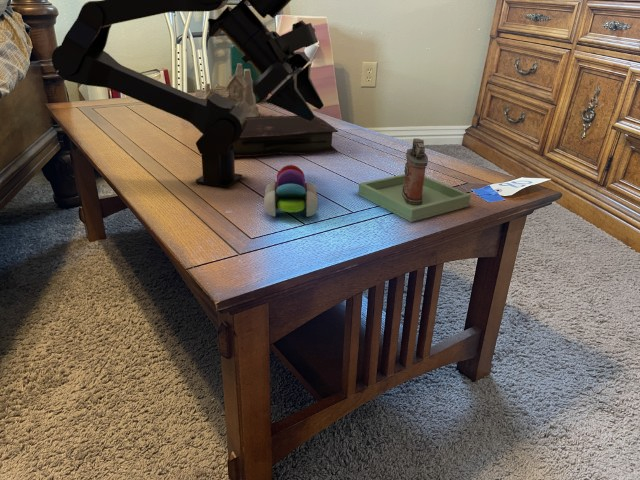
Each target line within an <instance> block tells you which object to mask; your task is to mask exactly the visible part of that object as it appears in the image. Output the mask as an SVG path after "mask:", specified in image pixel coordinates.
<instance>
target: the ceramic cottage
mask: <svg viewBox="0 0 640 480" xmlns="http://www.w3.org/2000/svg"><path fill="white" fill-rule="evenodd" d="M242 75H243V68H242V64H238V65H237V68H236V74H235V75H234V76H233V77H231V76H228V83H227V85H220V84H219V83H218V82H217V83H216V84H215V86H214V87H213V88H211V84H210V83H209V82H208V83H205V84H204V89H199V88H198V89H196V90H195V95H194V96H195V97H197V98H201V99H208V98H209V97H210V96H211V95H212V94H213V93H216V94H219V95H220V96H222V97H223V98H225V99H227V100H231V101H236V103H235V104H234V105H237V106H238V107H240V108H241V109H242V110H243V111H244V114H245V116H246V117H258V116H260V109H259V106H258V105H257V102H256V100H255V95H254V93H253V87H252V82H253V81H252V78H251V71H250V69H244V77H243V76H242Z"/></svg>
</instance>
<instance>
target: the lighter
mask: <svg viewBox="0 0 640 480" xmlns="http://www.w3.org/2000/svg"><path fill="white" fill-rule="evenodd" d="M425 151H426V147H425V141H424V139H420V138H413V139H412V147H411V148H408V149H406V153H405V154H406V155H405V159H406V162H405V163H404V170H403V171H404V174H405V179H404V185H403V188H402V197H403V199H404V201H405V202H406V203H407V204H409V205H412V206H419V205H422V200H423V194H422V191H423V183H424V176H426V168H427V167H428V162H429V158H428V157H429V156H428V155H427V153H425Z"/></svg>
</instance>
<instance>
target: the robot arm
mask: <svg viewBox="0 0 640 480" xmlns="http://www.w3.org/2000/svg"><path fill="white" fill-rule="evenodd" d="M290 2H292V0H240V1H239V2H238V3H237V4H236V5H235V6H234V7H233V8H232V7H231V6H228V5H227V4H228V3H229V0H89V1H87V2H84V4H83V5H82V6H81V9H80V10H79V13H78V14H77V18H76V19H75V20H74V22H73V23H72V25H71V26H70V28H69V30H67V32H66V34H65V35H64V37H63V40H62V42H61V44H60V45H57V47H56V48H55V49H54V50H53V52H52V54H51V63H52V67H53V69H54V70H55V73H56V75H57V76H58V77H59V78H61V79H63V80H64V81H66V82H71V83H75V84H79V85H83V86H89V87H96V88H106V89H110V90H112V91H115V92H117V93H120V94H122V95H124V96H127V97H130V98H132V99H134V100H136V101H138V102H141V103H144V104H146V105H148V106H150V107H153V108H155V109H158V110H161V111H163V112H165V113H167V114H169V115H173V116H174V117H177V118H178V119H179V118H180V119H183V120H184V121H187V123H189V124H191V125H192V126H193V127H195V129H197V131H199V133H201V136H200V137H199V138H197V140H196V142H195V146H196V148H197V150H198V152H199V155H201V170H202V171H201V172H202V175H201V176H199V177H198V178H196V179H195V183H196V184H200V185H206V186H213V187H219V188H226V189H227V188H229V187H231V186H232V185H234V184H235V183H237V182H238V181H239V180H241V179H242V178H243V174H241V173H236V168H235V167H236V166H235V165H236V164H235V156H234V145H233V143H235V142H236V141H237V140H238V139H239V137H240V136H241V134H242V132H243V130H244V129H245V127H246V122H247V121H246V116H245V114H244V111H243V110H242V109H241V108H240V107H238V106H237V105H234V104H235V103H236V101H231V100H227V99H225V98H223V97H222V96H220V95H219V94H216V93H213V94H212V95H211V96H210V97H209V98H208V99H201V98H197V97H195V95H193V94H190V93H188V92H185V91H183V90H180V89H178V88H176V87H174V86H172V85H170V84H166V83H164V82H162V81H160V80H157V79H155V78H153V77H150V76H148V75H145V74H143V73H141V72H138V71H136V70H134V69H131V68H129V67H128V66H127V67H126V66H124V65H122V64H120V63H119V62H118V61H117V60H116V59H115V58H114V57H113V56H111V55H110V54H109V53H108V52H106V51H105V48H106V46H107V43H108V39H109V35H110V30H111V28H112V25H115V24H121V23H125V22H129V21H134V20H138V19H144V18H149V17H153V16H158V15H163V14H168V13H173V12H174V13H175V12H184V13H185V12H187V13H189V12H190V13H191V12H192V13H193V12H213V11H217V10H220V9H223V8H224V7H226V8H224V10H222V12H221V13H220V14H219V15H218V16H217V17H216V18H208V19H207V22H208V31H207V33H208V36H209V37H212V38H214V37H215V38H217V37H219V35H221V33H223V34H224V35H225V37H226V38H227V39H228V40H229V41H230V42H231V44H232V43H233V44H234V45H235V46H236V47H237V49H238V50H239V51H240V52H241V53H242V54H243V55H244V56H243V57H242V60H243V61H244V62H245V63H248V62H250V63H251V64H252V65H253V67H254V68H255V69H256V70H257V71H258V72H259V73H260V74H261V76H260V77H259V78H258V79H257V80H256V81H255V82H254V83H253V93H254V94H255V95H256V96H257V97H258V99H259V100H260V101H259V102H263V101H264V100H266V101H265V103H266V104H271V105H272V106H275V107H278V108H280V109H283V110H284V111H287V112H289V113H291V114H292V115H293V114H294V115H295V116H297V115H298V116H300V117H302V118H304V119H306V120H309V121H311V120H312V119H313V118H314V117H315V116H316V114H314V112H313V110H312V109H311V107H310V106H312V107H314V108H316V109H318V110H321V109H322V108H323V107H325V105H324V102H323V100H322V99H321V97H320V94H319V93H318V91H317V88H316V87H315V85H314V83H313V81H312V78H311V67H312V63H311V62H310V61H311V58H309V56H308V55H307V54H306V52H304V51H299V50H300V49H303V48H309V47H310V46H313V45H315V44H317V43H319V40H318V37H317V35H316V29H315V28H314V27H313V24H312V23H311V22H309V23H306V22H305V21H303V20H299V21H298V22H295V23H293V24H292V26H291V27H292V28H291V30H290V31H288V32H286V33H283V34H281V35H280V34H279V33H278V32H277V31H276V30H275V31H274V30H271V31H270V30H269V29H268V28H267V26H266V24H264V23H263V22H262V21H261V19H259V17H258V16H257V15H256V14H255V13H254V11H253V10H252V9H251V8H250V7H249V6H248V4H250V6H251V7H252V8H253V9H254V10H255V12H256V13H257V14H258V15H259V16H260V17H261V18H262V19H265V18H266V17H267V16H269V17H270V18H272V19H275V18H276V17H277V16H278V15H279V14H280V12H281V11H283V10H284V9H285V8H286V6H288V4H290ZM265 26H266V27H265ZM309 62H310V63H309ZM269 95H270V96H269ZM268 97H269V98H268ZM266 98H267V99H266ZM309 105H310V106H309Z"/></svg>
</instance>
